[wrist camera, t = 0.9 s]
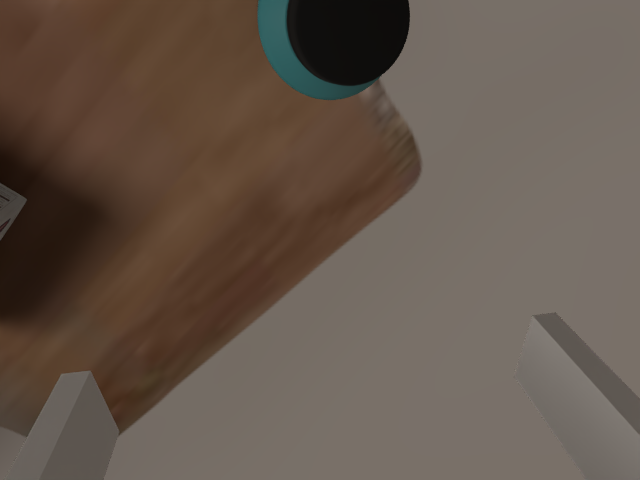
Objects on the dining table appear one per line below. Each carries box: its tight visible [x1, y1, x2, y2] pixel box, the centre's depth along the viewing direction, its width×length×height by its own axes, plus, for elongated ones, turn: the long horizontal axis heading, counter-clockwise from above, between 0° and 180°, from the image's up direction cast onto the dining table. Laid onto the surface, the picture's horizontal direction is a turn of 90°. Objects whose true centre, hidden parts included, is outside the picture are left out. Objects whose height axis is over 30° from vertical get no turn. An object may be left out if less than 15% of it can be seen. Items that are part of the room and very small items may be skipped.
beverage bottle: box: [257, 0, 410, 100], centre depth 21 cm, size 6×7×20 cm
